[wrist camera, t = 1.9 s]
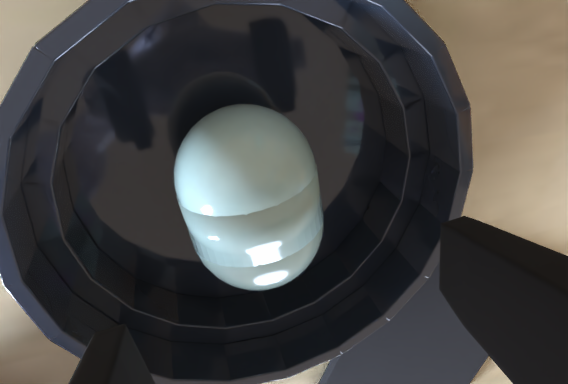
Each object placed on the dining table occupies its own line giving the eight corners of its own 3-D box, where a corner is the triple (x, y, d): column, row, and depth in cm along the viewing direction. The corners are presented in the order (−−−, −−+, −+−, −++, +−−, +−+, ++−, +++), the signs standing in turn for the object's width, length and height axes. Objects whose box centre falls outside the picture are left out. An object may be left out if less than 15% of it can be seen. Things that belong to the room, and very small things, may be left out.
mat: (451, 396, 27) (456, 403, 27) (312, 395, 24) (315, 403, 23) (538, 268, 24) (545, 273, 23) (389, 242, 20) (395, 248, 20)
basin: (330, 323, 21) (365, 392, 18) (1, 296, 16) (-38, 387, 13) (469, 39, 16) (554, 60, 13) (56, -140, 11) (14, -185, 8)
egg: (308, 223, 18) (351, 294, 14) (202, 255, 17) (217, 338, 13) (283, 73, 15) (329, 112, 11) (152, 105, 14) (154, 159, 10)
